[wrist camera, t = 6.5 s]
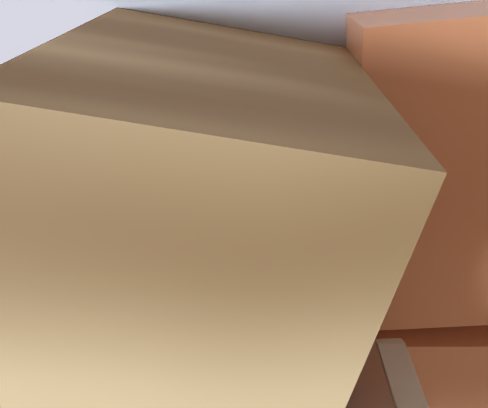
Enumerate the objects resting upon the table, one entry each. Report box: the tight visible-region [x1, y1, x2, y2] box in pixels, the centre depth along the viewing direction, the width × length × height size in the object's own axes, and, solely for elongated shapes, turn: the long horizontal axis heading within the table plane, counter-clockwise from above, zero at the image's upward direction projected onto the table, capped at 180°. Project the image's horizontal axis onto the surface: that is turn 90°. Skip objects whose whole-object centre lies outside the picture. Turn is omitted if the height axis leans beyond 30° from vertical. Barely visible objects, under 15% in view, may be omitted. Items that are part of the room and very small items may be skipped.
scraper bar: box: [0, 8, 447, 408], centre depth 9 cm, size 14×4×5 cm, turn 171°
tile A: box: [375, 325, 488, 408], centre depth 12 cm, size 6×6×2 cm
